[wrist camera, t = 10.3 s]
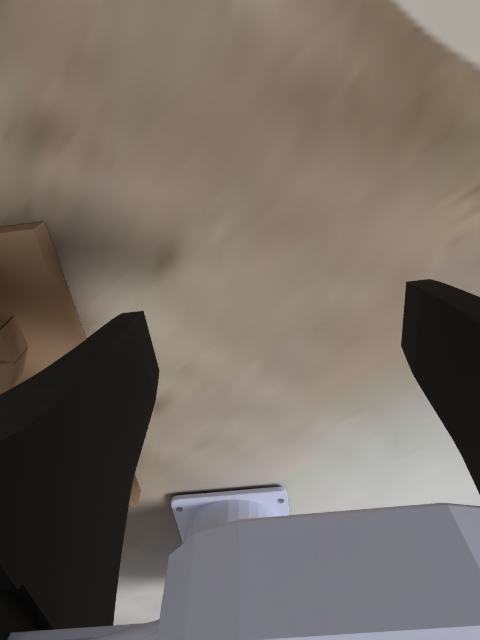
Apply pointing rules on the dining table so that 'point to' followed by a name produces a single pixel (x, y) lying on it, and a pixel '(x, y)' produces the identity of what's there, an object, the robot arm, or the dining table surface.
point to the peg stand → (35, 309)
